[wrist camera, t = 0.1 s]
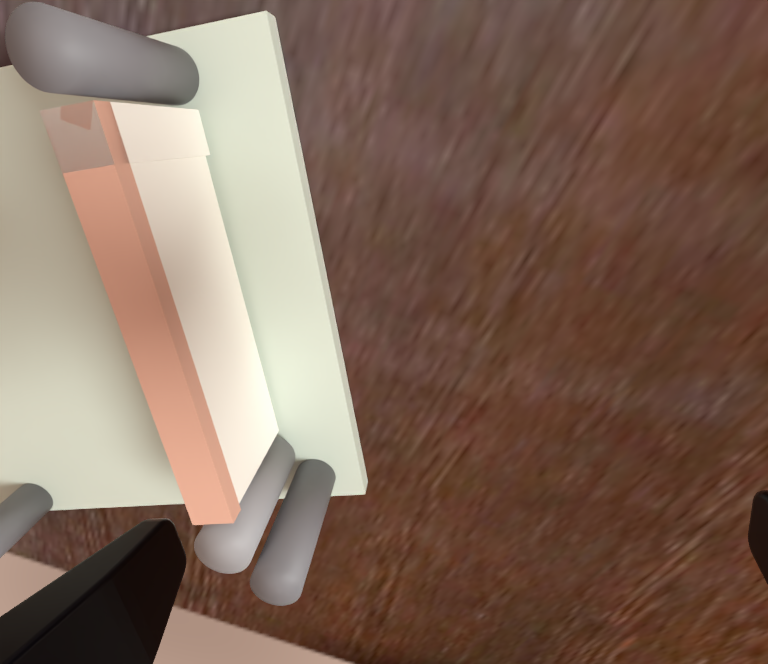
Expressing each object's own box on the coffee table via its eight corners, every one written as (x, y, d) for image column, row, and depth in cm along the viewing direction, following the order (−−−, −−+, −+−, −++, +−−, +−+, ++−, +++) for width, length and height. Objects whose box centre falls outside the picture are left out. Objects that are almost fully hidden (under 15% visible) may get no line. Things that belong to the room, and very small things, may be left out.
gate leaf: (299, 471, 24) (257, 572, 19) (257, 474, 24) (203, 574, 19) (205, 108, 18) (103, 98, 13) (151, 118, 19) (29, 112, 13)
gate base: (368, 482, 26) (341, 612, 19) (3, 502, 29) (-133, 618, 22) (274, 16, 18) (172, -54, 11) (-203, 117, 22) (-508, 110, 15)
